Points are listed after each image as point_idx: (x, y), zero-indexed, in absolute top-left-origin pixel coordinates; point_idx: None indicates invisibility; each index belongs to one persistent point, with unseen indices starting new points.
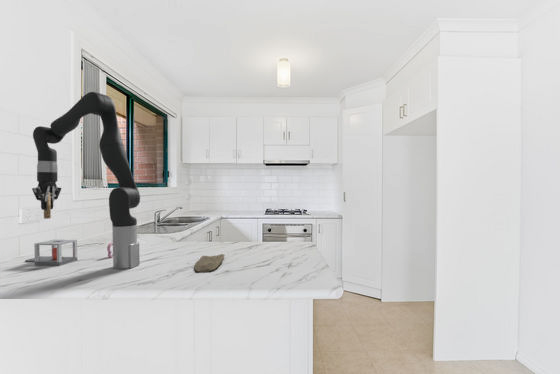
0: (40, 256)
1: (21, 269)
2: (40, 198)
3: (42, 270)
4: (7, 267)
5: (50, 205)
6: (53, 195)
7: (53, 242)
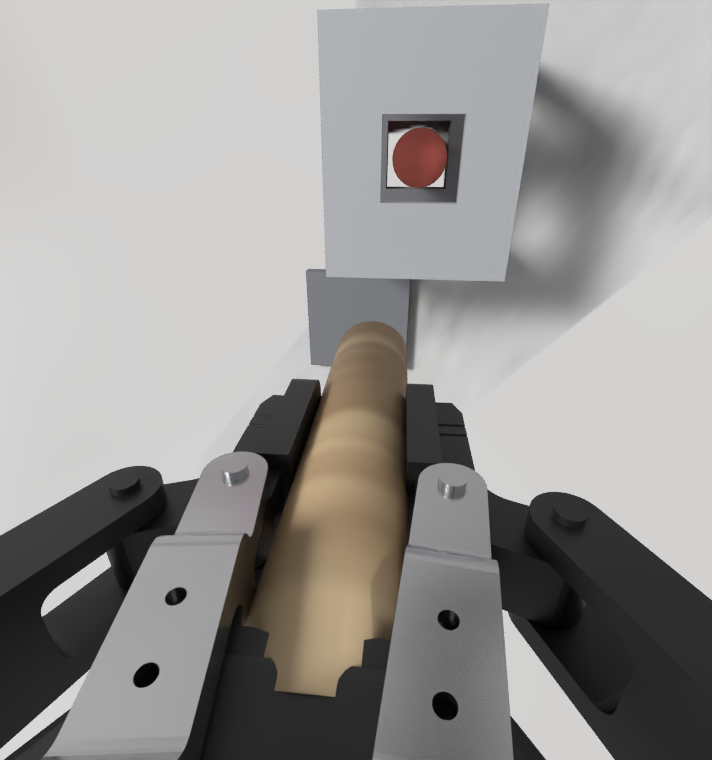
0: (315, 361)
1: (578, 237)
2: (619, 541)
3: (632, 59)
4: (520, 354)
5: (331, 409)
6: (210, 536)
7: (464, 149)
